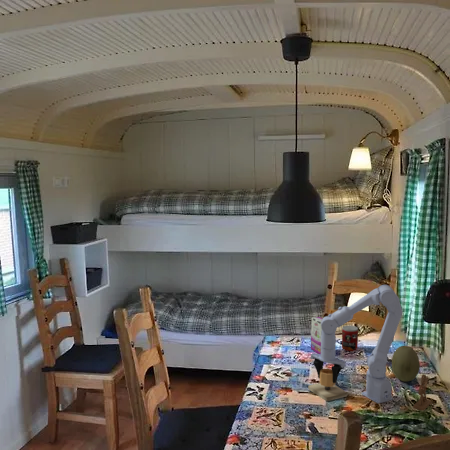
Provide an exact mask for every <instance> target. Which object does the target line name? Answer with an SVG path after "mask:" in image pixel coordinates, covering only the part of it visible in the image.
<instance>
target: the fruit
mask: <svg viewBox="0 0 450 450" xmlns="http://www.w3.org/2000/svg"><path fill="white" fill-rule="evenodd" d="M420 367H421V365H420V359H419V356H418V353H417V351H416V350H415V349H414V348H412V347H411V346H408V345H400V346H399V347H397V348H396V349H395V350H394V352H393V354H392V358H391V369H392V373H393V374H394V376H395V377H396V378H397V379H398V380H399V381H400V382H401V381H402V382H405V383H406V382H410V381H411V382H412V381H413V380H414V379H416V378H417V377H418V374H419V371H420Z"/></svg>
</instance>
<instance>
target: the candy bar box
mask: <svg viewBox="0 0 450 450" xmlns="http://www.w3.org/2000/svg"><path fill="white" fill-rule="evenodd" d="M322 319H323V318H322V317H320V316H317V317H316V316H315V317H314V316H313V317H311V327H310V328H311V330H310V331H311V332H310V350H312V351H313V353H314V352H315V353H316V354H321V335H322V334H321V331H322V328H321V321H322Z"/></svg>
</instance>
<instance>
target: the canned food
mask: <svg viewBox="0 0 450 450" xmlns="http://www.w3.org/2000/svg"><path fill="white" fill-rule="evenodd" d="M341 327H342V329H341V331H342V332H341V348H342V351H345V352H351V353H352V352H353V353H354V352H357V350H358V346H359V343H358V341H359V328H358V327H357V326H355V325H344V326H343V325H342V326H341Z"/></svg>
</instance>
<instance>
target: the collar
mask: <svg viewBox="0 0 450 450" xmlns="http://www.w3.org/2000/svg"><path fill="white" fill-rule="evenodd" d="M319 383H320V384H321V385H323V386H326V387H333V386H334V385H335V386H336V383H333V373H332V368H323V369H321V370H320V379H319Z"/></svg>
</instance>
